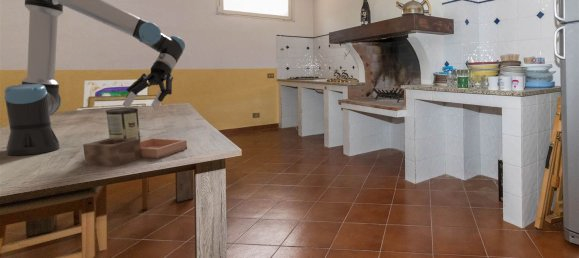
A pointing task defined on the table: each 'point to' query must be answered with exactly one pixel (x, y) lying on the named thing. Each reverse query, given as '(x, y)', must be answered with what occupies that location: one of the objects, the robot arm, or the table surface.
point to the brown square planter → (112, 151)
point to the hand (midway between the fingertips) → (139, 106)
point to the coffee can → (123, 123)
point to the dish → (161, 147)
